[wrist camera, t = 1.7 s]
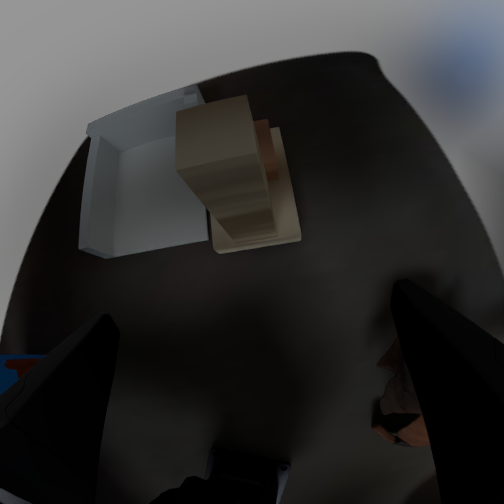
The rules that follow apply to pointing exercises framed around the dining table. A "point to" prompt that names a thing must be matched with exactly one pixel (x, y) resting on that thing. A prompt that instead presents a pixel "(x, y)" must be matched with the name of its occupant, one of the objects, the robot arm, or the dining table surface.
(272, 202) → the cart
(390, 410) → the pottery mug
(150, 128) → the bay
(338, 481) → the dining table surface
